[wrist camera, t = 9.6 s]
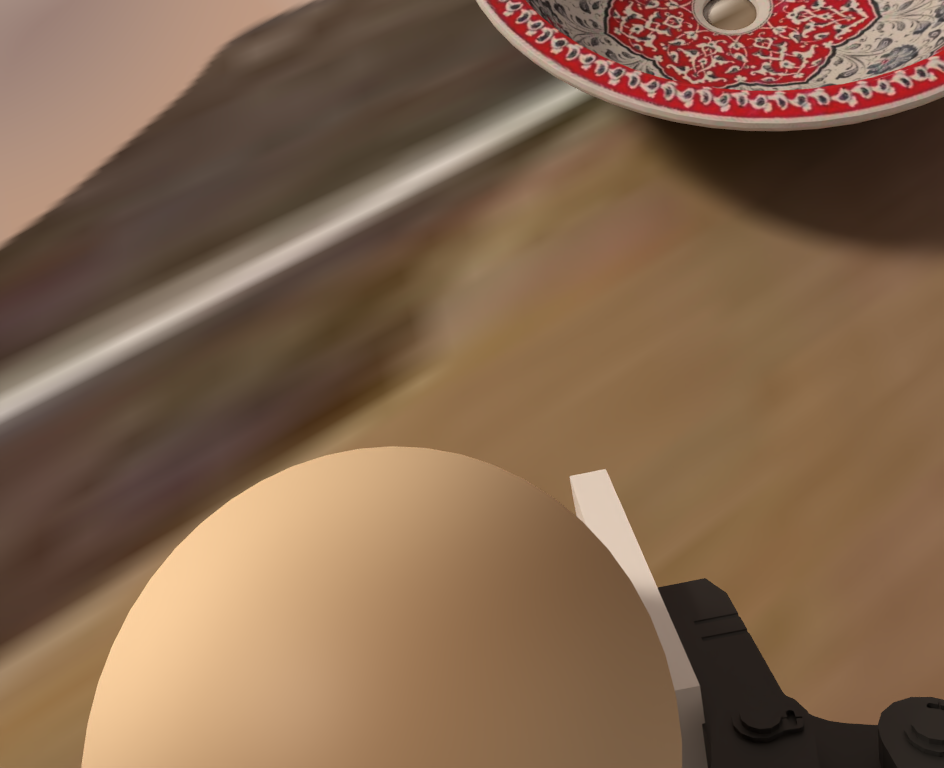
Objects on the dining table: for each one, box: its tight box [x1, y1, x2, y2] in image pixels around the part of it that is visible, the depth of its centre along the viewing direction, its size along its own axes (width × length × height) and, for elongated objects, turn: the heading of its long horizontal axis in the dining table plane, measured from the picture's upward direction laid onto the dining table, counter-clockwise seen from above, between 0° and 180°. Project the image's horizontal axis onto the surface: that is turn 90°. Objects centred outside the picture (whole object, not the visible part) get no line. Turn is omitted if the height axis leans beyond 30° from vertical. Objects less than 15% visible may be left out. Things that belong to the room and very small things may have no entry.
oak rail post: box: [82, 446, 682, 768], centre depth 14 cm, size 6×6×13 cm
